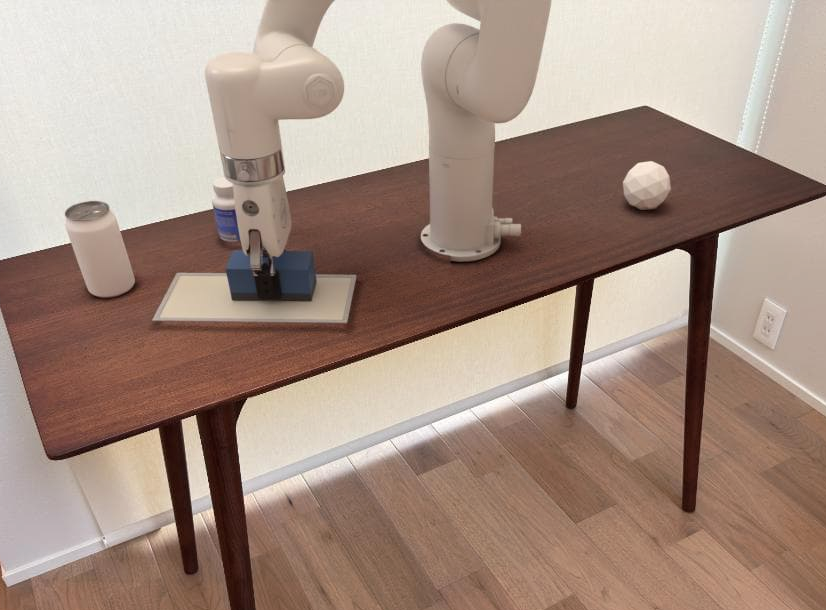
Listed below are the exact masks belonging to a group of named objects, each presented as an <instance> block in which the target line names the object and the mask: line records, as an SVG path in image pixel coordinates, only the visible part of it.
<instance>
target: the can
mask: <svg viewBox="0 0 826 610" xmlns="http://www.w3.org/2000/svg"><path fill="white" fill-rule="evenodd" d="M64 217H65V221H64V222H65V224H64V225H65V230H66V232H67V233H66V234H67V236H68V238H69V242H70V244H71V247H72V250H73V252H74V256H75V258H76V261H77V264H78V266H79V270H80V272H81V276H82V277H83V280H84V281H83V282H84V284H85V287H86V288H87V290H88V292H89V294H91V295H92V296H95V297H97V298H101V299H111V298H115V297H119V296H122V295H124V294H126V293H128V292H130V291H131V290H132V288H133V287H134V285H135V283H136V279H135V275H134V271H133V268H132V265H131V262H130V259H129V258H130V257H129V255H128V252H127V249H126V245H125V242H124V239H123V235H122V233H121V229H120V226H119V223H118V220H117V217H116V215H115V213H114V212H113V211H112V210H111V209H110V205H109V204H108V203H106V202H105V201H100V200H87V201H81V202H78V203H75V204H72V205H71V206H69V207H68V208H67V209H66V210H65V211H64Z"/></svg>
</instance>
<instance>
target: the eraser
mask: <svg viewBox="0 0 826 610" xmlns="http://www.w3.org/2000/svg"><path fill="white" fill-rule="evenodd" d="M314 257H315V256H314V250H286V251H283V253H282V254H281V255H280V256H279V257H276V256H274V259H275V271H276V272H278V274H279V280H280V286H281V292H282V297H281V299H259V298H258V295H257V290H256V284H255V279H254V275H253V270H251V267H250V256H249V257H248V256H246V255H245V254H244V252H243V249H233V250H232V253H231V255H230V258H229V259H228V262H227V264H226V267H225V273H226V274H227V279H228V284H229V288H230V293H231V298H232V300H258V301H312V298H313V294H314V290H315V286H316V282H317V280H316V274H317V273H316V266H315V258H314ZM262 261H263V262H264V263H267V264H268V265H269V259H268V258H262Z"/></svg>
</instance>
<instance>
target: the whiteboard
mask: <svg viewBox="0 0 826 610" xmlns="http://www.w3.org/2000/svg"><path fill="white" fill-rule="evenodd" d="M316 280H317V282H316V286H315V290H314V294H313V298H312V301H258V300H232V298H231V293H230V288H229V284H228V279H227V274H226V272H176V274H175V276H174V278H173V280H172V281H171V283H170V285H169V287H168V288H167V291H166V293H165V294H164V296H163V299H162V301H161V302H160V304H159V306H158V308H157V310H156V312H155V314H154V315H153V318H152V320H151V321H152V322H189V323H190V322H193V323H194V322H199V323H200V322H201V323H203V322H204V323H205V322H206V323H278V324H279V323H282V324H289V323H290V324H292V323H293V324H348V321H349V317H350V311H351V306H352V301H353V297H354V291H355V287H356V281H357V274H327V273H326V274H323V273H322V274H321V273H319V274H318V273H316Z"/></svg>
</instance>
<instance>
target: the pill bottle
mask: <svg viewBox="0 0 826 610" xmlns="http://www.w3.org/2000/svg"><path fill="white" fill-rule="evenodd" d="M212 186H213V191H214V194H213V195H212V198H211V204H212V209H213V212H214V219H215V222H216V229H217V233H218V237H219V238H220V240H223V241H225V242H230V243H237V242H241V240H240V235H239V229H238V223H237V216H236V209H235V202H234V193H233V184H232V183H231V182H229V181H228V180H226V178H225V176H224V175H223V176H220V177H217V178H216V179H214V180H213V182H212Z"/></svg>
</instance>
